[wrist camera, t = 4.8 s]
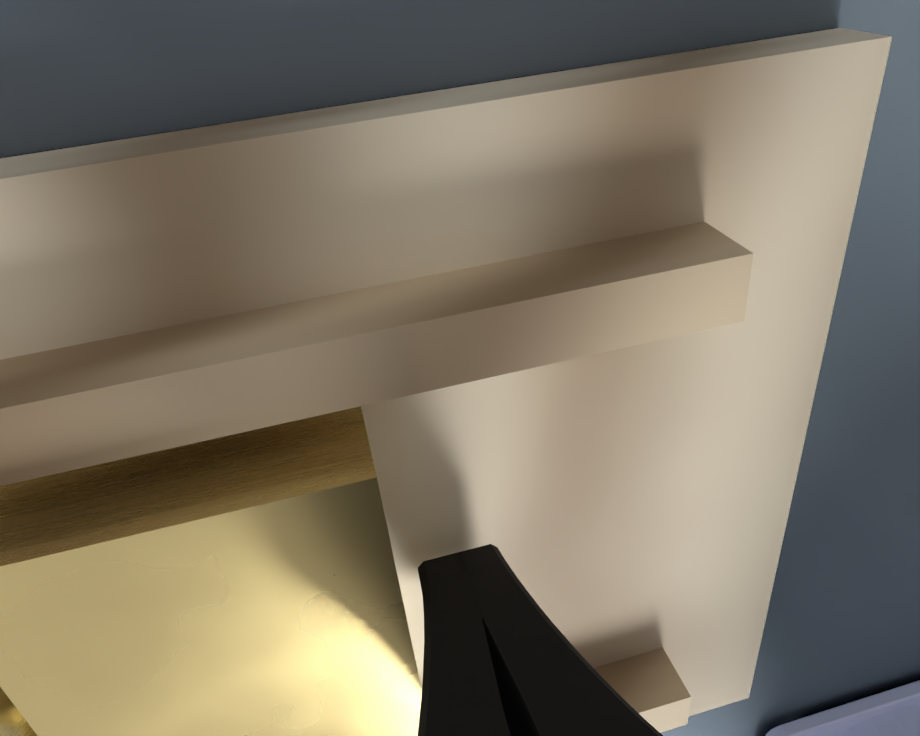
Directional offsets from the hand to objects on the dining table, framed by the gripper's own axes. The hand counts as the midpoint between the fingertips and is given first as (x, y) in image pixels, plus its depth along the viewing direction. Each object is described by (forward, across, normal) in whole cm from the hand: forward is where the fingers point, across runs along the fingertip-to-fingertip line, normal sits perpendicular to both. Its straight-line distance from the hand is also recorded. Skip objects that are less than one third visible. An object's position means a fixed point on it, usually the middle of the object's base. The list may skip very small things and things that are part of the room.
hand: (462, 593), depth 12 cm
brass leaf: (+1, +5, 0) cm, 5 cm away
